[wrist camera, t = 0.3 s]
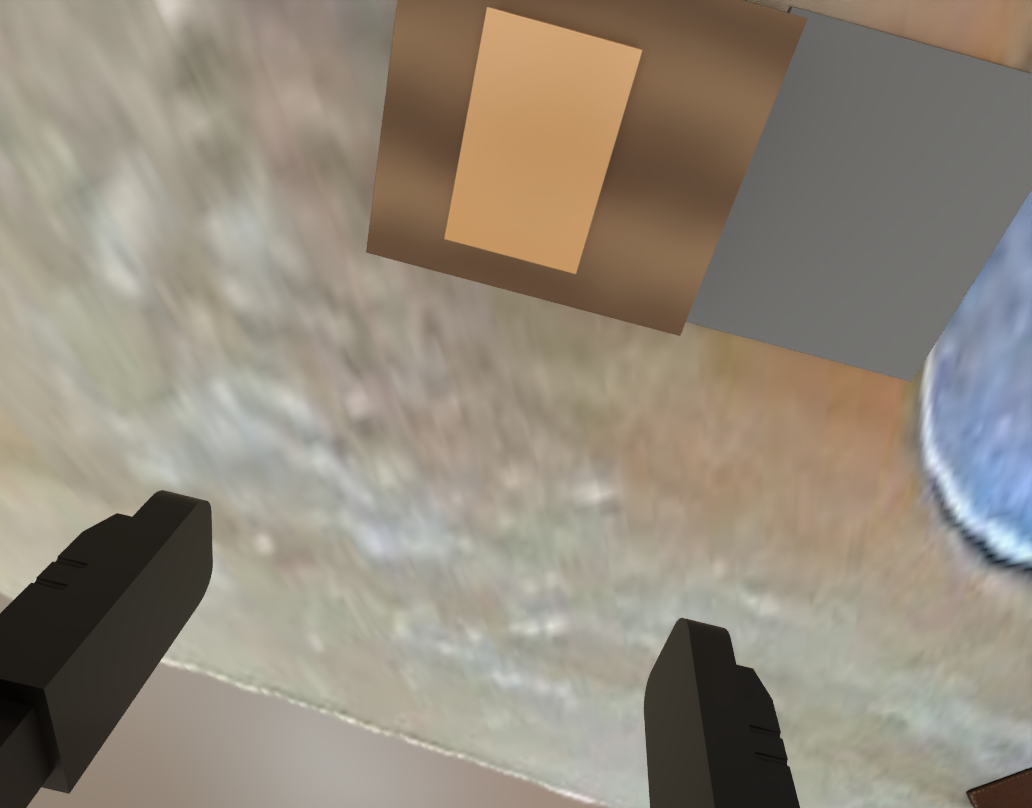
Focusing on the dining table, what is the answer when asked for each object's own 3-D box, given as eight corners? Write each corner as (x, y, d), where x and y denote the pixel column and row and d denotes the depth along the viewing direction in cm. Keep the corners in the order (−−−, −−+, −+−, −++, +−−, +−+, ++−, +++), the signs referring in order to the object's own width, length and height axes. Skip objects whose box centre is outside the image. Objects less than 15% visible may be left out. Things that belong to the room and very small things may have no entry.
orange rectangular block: (495, 8, 27) (487, 6, 25) (639, 47, 27) (642, 50, 25) (454, 224, 31) (444, 238, 29) (577, 257, 31) (575, 274, 29)
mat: (790, 6, 29) (792, 6, 29) (1087, 90, 29) (1093, 91, 29) (670, 315, 37) (671, 317, 36) (908, 378, 37) (911, 381, 37)
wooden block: (431, -80, 29) (409, -94, 25) (783, 19, 29) (807, 18, 26) (388, 230, 36) (366, 252, 32) (672, 306, 36) (679, 335, 33)
